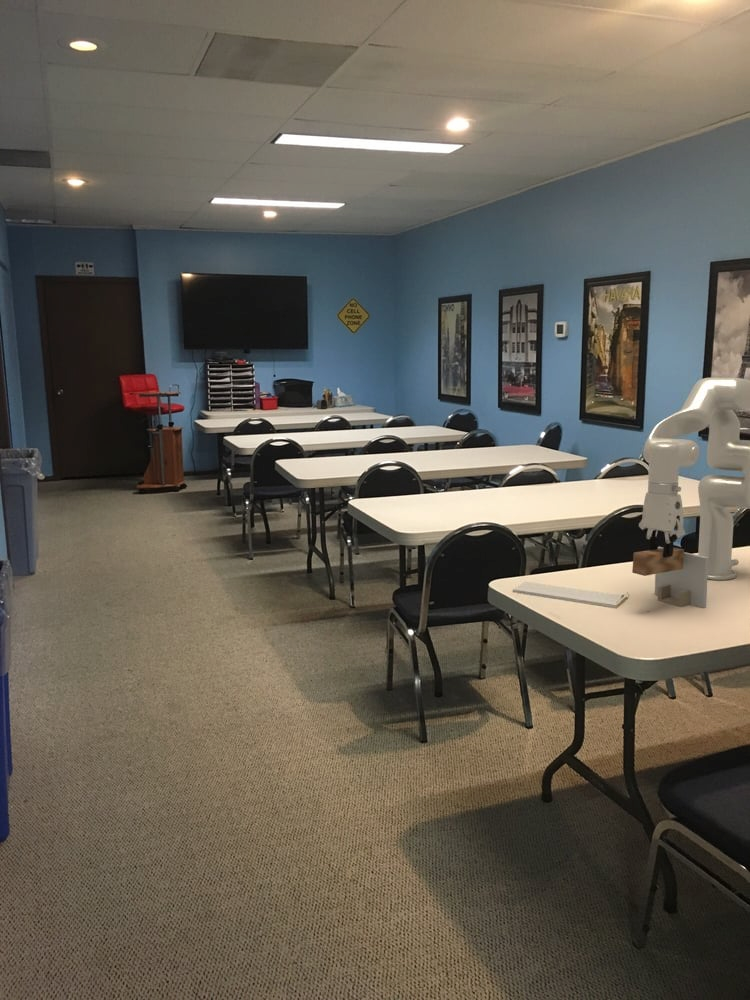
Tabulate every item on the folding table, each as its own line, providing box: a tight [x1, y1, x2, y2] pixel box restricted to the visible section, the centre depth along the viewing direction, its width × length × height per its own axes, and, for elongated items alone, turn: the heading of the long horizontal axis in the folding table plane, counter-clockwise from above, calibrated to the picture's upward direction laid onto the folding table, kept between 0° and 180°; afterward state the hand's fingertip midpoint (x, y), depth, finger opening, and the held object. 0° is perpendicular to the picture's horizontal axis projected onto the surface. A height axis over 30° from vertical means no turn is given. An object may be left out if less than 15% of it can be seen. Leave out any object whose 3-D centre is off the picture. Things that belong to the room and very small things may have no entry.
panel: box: [654, 546, 709, 609], centre depth 217 cm, size 5×16×14 cm, turn 32°
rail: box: [631, 546, 685, 577], centre depth 211 cm, size 16×4×6 cm, turn 123°
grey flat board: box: [512, 581, 629, 609], centre depth 227 cm, size 31×3×12 cm
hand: (660, 554), depth 211 cm, fingers closed on rail, 4 cm apart
